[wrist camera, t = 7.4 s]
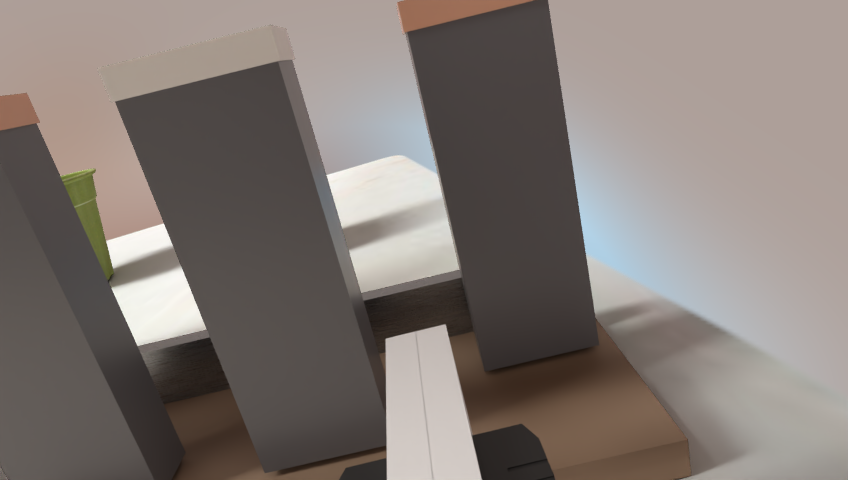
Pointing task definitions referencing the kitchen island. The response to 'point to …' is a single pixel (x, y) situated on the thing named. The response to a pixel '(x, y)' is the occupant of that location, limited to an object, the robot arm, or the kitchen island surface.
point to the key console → (482, 390)
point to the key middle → (258, 240)
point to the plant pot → (89, 213)
